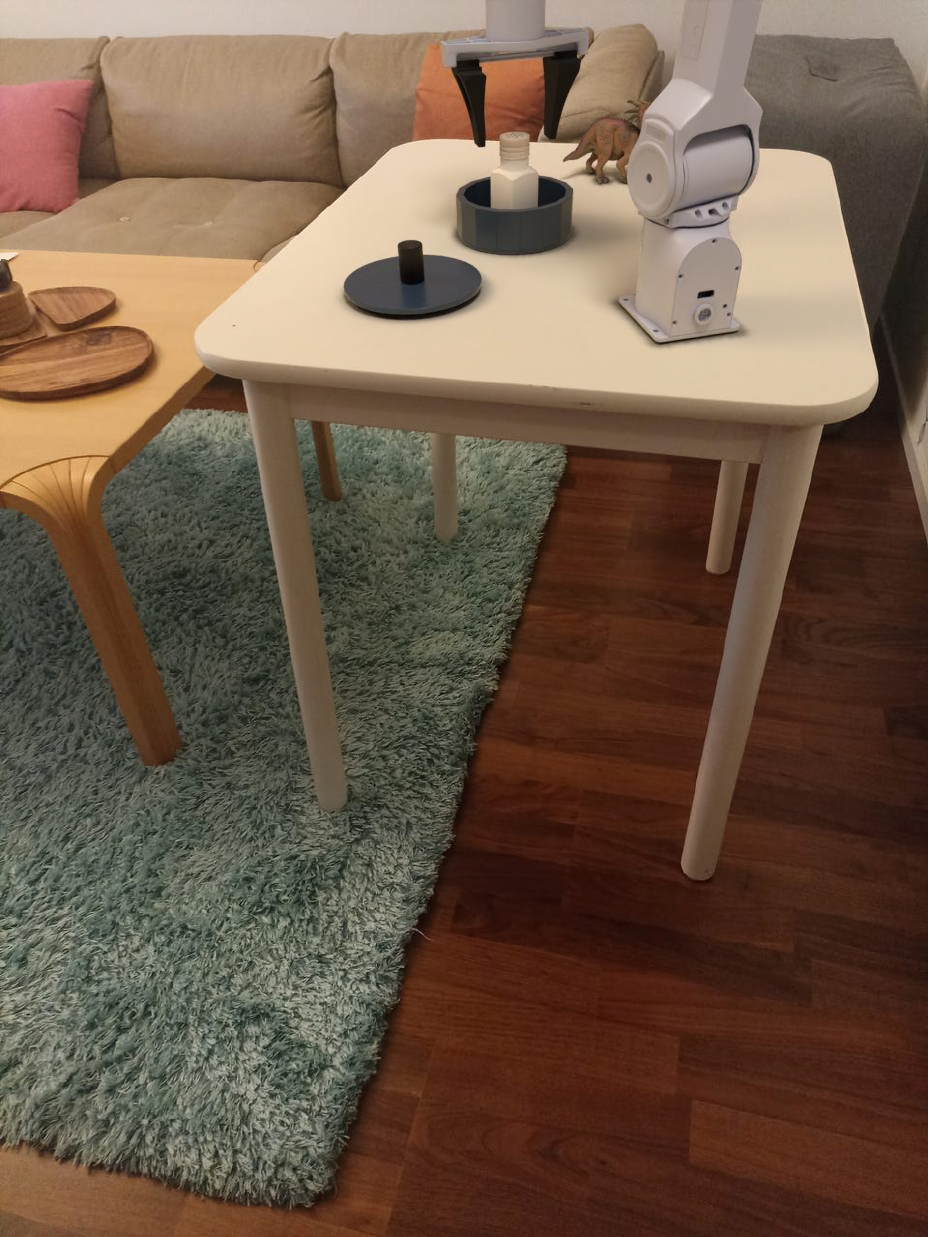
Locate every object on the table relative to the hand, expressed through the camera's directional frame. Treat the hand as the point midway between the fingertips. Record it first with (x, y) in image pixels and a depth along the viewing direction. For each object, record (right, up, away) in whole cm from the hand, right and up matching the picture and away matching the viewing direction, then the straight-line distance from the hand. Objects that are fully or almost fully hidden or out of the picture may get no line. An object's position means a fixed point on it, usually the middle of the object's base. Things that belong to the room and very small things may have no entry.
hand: (515, 140), depth 90 cm
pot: (0, -7, +7) cm, 9 cm away
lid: (-10, -17, -5) cm, 20 cm away
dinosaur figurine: (+14, +6, +20) cm, 25 cm away
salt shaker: (0, -7, +6) cm, 9 cm away
